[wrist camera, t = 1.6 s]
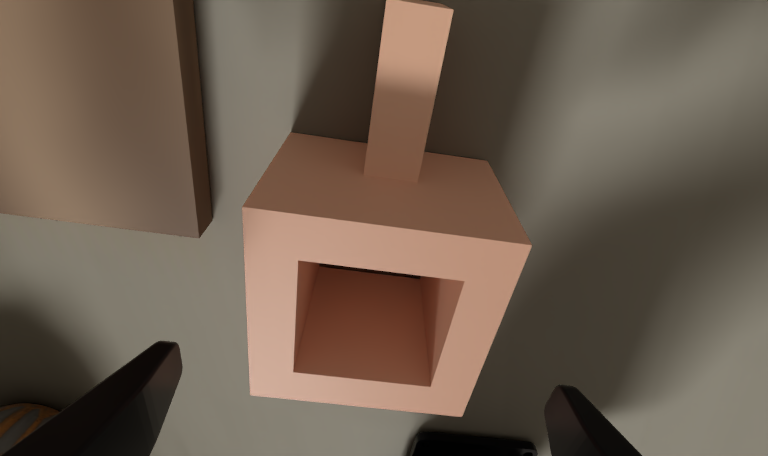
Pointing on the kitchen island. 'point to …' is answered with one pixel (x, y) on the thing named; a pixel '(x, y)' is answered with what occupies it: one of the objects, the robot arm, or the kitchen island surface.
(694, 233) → the kitchen island surface
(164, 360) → the robot arm
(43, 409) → the patterned egg
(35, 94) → the board
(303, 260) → the square frame with post
